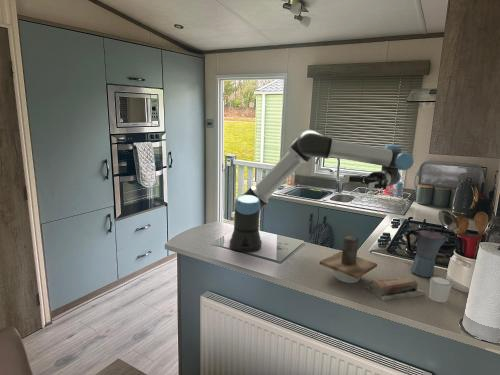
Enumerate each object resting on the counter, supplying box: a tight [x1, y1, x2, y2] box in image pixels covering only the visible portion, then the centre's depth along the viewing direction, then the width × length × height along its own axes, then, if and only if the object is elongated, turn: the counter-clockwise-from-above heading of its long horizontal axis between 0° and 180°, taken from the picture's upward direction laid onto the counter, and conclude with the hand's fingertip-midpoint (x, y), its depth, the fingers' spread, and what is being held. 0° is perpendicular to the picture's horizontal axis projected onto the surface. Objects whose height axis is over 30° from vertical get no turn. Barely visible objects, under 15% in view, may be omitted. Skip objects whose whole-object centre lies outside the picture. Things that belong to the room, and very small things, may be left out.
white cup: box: [428, 276, 453, 303], centre depth 122 cm, size 7×7×7 cm
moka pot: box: [405, 227, 449, 279], centre depth 141 cm, size 10×15×20 cm, turn 78°
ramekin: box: [333, 270, 361, 284], centre depth 135 cm, size 11×11×5 cm
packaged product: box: [365, 276, 425, 302], centre depth 126 cm, size 18×5×10 cm
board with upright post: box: [319, 235, 378, 279], centre depth 134 cm, size 16×16×11 cm
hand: (354, 183), depth 143 cm, fingers open, 13 cm apart
